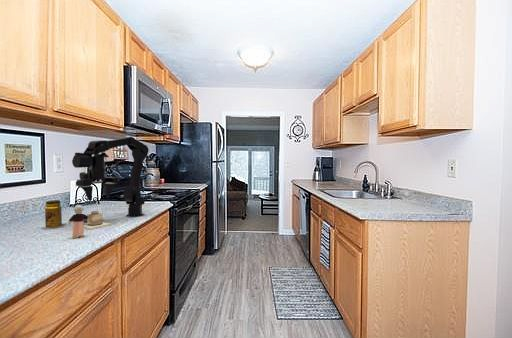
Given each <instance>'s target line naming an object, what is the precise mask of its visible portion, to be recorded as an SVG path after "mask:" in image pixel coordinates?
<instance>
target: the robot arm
mask: <svg viewBox="0 0 512 338" xmlns="http://www.w3.org/2000/svg"><path fill="white" fill-rule="evenodd" d="M123 146H127V148H128V149H129V150H130V151H131V156H132V159H133V163H132V169H131V172H130V173H131V174H130V180H129V185H128V186H127V187H124V189H123V193H122V196H123V199H124V201H125V204H126V205H128V207H127V210H128V212H127V214H126V216H127V217H135V218H136V217H140V216H144V215H145V213H143V205H145V203H146V200H145V199H144V198H143V197H142V191H141V189H140V188H141V187H140V182H141V176H142V170H143V164H144V161H145V159H146V158H147V156H148V153H149V147H148V145H146V144H144V143H143V142H142V141H139V140H137V139H136V138H135V137H133V136H125V137H122V138H117V139H116V138H115V139H110V140H91V141H89V142H88V145H87V147H86V148H85V150H84V151H83V152H75V153H74V155H73V157H72V160H71V163H72V166H73V167H74V168H76V169H79V168H82V169H83V168H89V169H88V172H83V171H81V172H79V179H77V180H76V181H75V187H78V188H81V189H82V190H83V192H84V193H85V195H86V197H87V199H88V201H89V202H91V201H92V197H93V190H94V189H93V187H94V186H93V185H94V184H95V185H96V184H103V185H104V186H105V197H106V199H109V197H110V196H111V195H112V191H113V190H114V188H115V186H116V185H117V183H118V184H119V181H120V179H119V178H118V176H108V177H106V172H107V171H108V170H107V168H106V167H105V158H109V155H108V154H107V153H106V152H107V151H109V150H111V149H113V148H118V147H119V148H120V147H123Z"/></svg>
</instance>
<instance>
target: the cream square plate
mask: <svg viewBox="0 0 512 338" xmlns="http://www.w3.org/2000/svg"><path fill="white" fill-rule="evenodd" d="M113 225H117V222H109V221H104V220H103V224H102V225H97V226H88V225H87V223H84V230H87V231H88V230H90V231H93V230H96V229H100V228H105V227H108V226H113Z"/></svg>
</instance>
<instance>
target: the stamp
mask: <svg viewBox="0 0 512 338" xmlns="http://www.w3.org/2000/svg"><path fill="white" fill-rule="evenodd" d="M90 212H91V213H89V214H86V215H87V216H88V218H89V220H90V222H87V223H86V224H87V225H88V226H97V225H102V224H103V221H104V219H103V213H101V212H99V211H98V210H92V211H90Z"/></svg>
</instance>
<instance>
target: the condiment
mask: <svg viewBox="0 0 512 338" xmlns="http://www.w3.org/2000/svg"><path fill="white" fill-rule="evenodd" d="M45 206H46V207H45V208H44V213H45V214H44V215H45V216H44V217H45V218H44V220H45V222H44V223H45V224H44V225H45V227H42V230H45V229H58V228H59V229H60V228H62V227H65V226H67V223H68V222H67V223H63V222H62V221H63V219H62V216H63V214H62V205H61V200H59V199H55V200H53V199H51V200H47V201H46V202H45Z"/></svg>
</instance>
